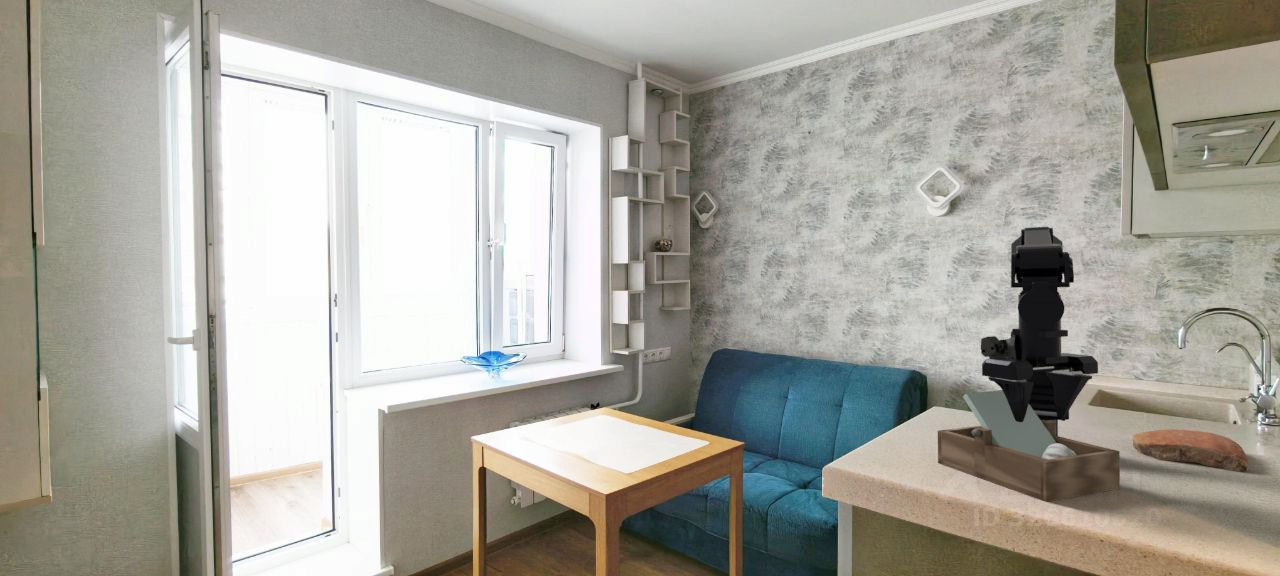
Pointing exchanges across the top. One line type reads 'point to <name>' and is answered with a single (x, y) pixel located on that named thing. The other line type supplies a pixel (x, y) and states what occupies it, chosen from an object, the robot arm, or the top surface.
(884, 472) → the top surface
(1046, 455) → the garlic
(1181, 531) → the top surface
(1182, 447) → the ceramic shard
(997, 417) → the trapdoor plate
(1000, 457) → the frame
